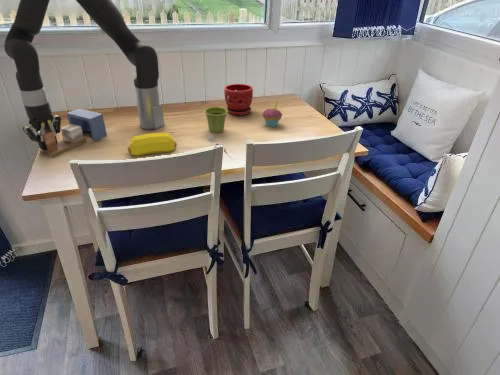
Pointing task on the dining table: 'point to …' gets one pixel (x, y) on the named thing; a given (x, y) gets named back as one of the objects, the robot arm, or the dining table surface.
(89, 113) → the tunnel
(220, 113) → the plant pot
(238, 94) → the plant pot
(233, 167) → the dining table surface
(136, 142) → the hot dog
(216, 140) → the fork
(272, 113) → the cupcake
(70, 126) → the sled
